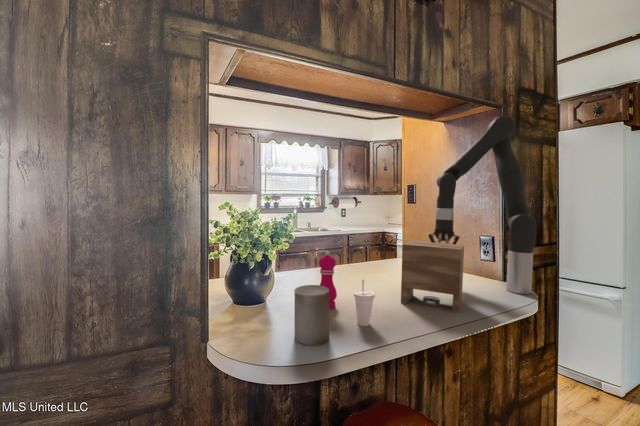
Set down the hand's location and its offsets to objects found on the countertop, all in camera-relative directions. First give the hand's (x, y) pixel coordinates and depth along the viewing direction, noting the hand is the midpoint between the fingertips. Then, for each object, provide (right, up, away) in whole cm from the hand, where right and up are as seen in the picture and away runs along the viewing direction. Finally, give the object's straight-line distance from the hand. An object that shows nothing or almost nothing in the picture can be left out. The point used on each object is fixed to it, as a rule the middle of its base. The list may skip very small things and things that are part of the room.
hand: (443, 256), depth 147 cm
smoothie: (-42, -15, -45) cm, 63 cm away
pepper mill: (-53, -14, -30) cm, 63 cm away
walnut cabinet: (-13, -14, -24) cm, 31 cm away
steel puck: (-13, -14, -24) cm, 31 cm away
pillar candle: (-58, -15, -56) cm, 82 cm away
